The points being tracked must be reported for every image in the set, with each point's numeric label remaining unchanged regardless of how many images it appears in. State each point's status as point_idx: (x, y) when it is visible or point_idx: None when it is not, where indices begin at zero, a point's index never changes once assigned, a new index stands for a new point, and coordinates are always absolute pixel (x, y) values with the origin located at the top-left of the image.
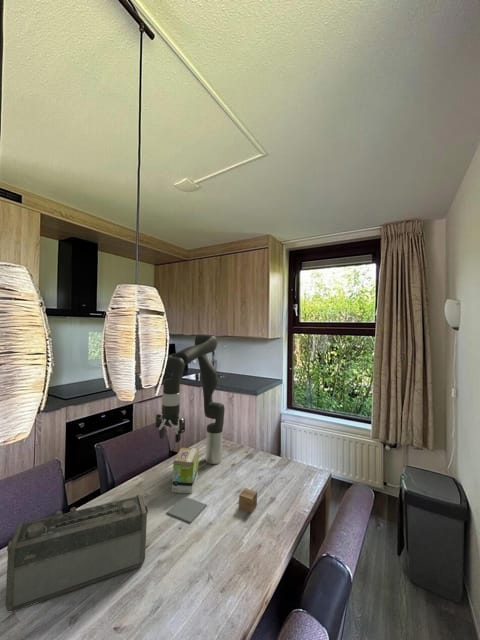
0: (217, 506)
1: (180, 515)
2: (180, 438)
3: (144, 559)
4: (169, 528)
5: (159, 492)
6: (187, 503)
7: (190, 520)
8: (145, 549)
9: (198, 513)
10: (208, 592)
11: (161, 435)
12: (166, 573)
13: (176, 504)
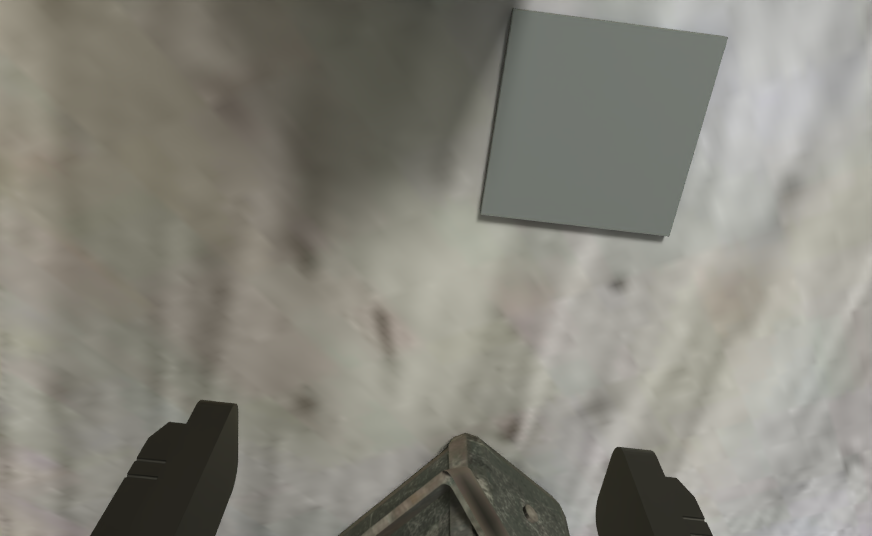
0: (807, 8)
1: (582, 210)
2: (699, 517)
3: (564, 515)
4: (560, 305)
5: (286, 22)
6: (576, 82)
7: (662, 226)
8: (566, 534)
9: (693, 151)
10: (855, 506)
11: (217, 519)
12: None
13: (502, 122)
